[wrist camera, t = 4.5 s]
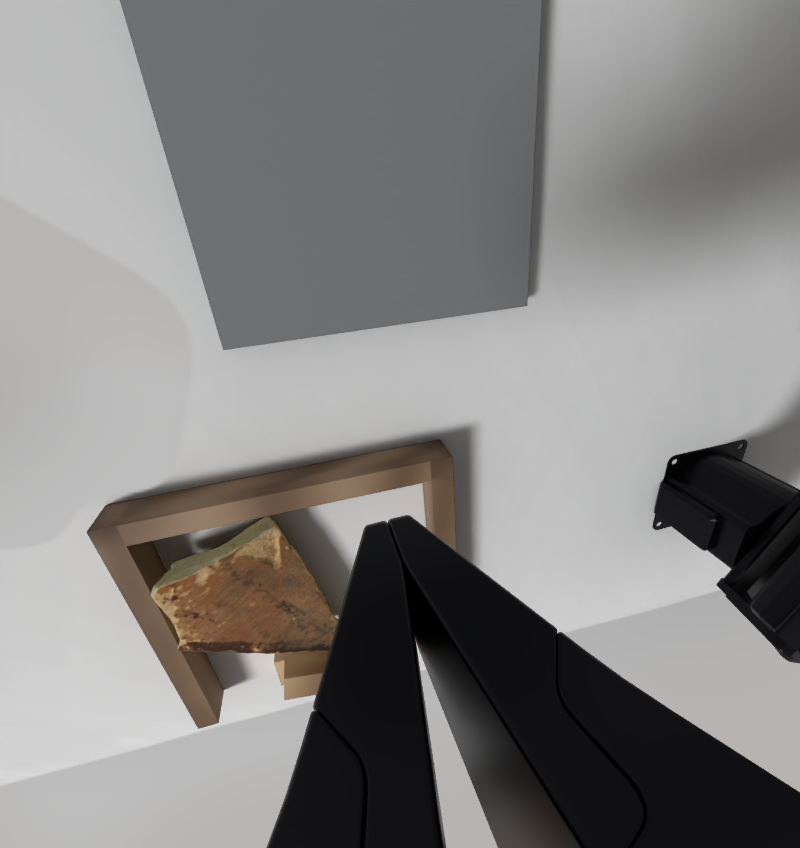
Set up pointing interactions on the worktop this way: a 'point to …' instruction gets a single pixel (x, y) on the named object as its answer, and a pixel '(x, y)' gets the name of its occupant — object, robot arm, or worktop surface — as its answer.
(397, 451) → the walnut open-sided frame
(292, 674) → the upper oak offcut
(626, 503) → the worktop surface
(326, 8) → the charcoal mat
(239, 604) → the shard
